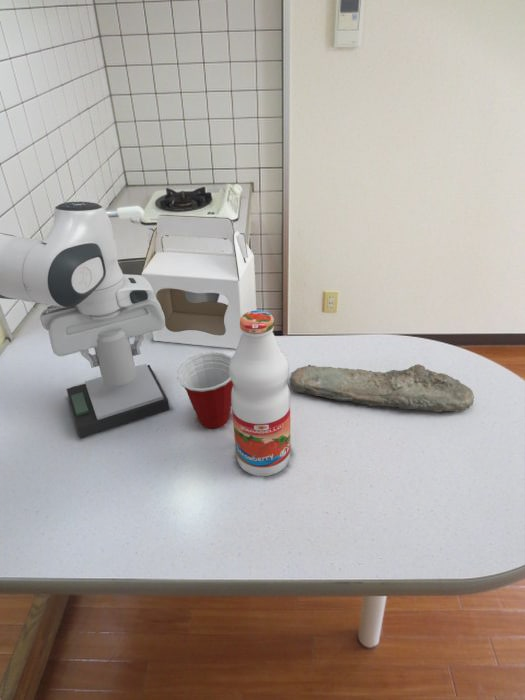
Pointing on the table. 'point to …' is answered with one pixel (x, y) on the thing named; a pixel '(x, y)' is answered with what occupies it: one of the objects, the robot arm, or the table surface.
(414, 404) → the long grey stone
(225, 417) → the plastic cup
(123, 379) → the beverage can
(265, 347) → the fruit juice
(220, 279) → the gable box
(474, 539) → the table surface
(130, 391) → the kitchen scale
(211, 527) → the table surface
